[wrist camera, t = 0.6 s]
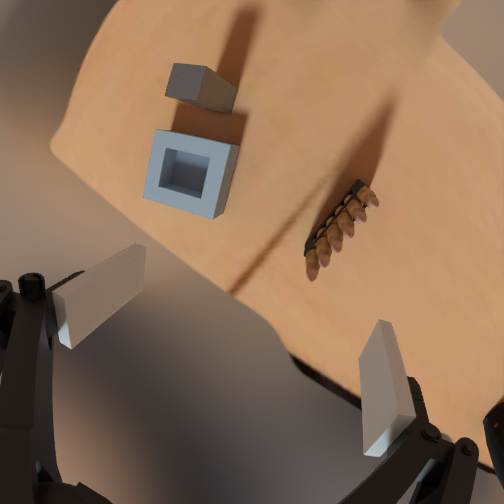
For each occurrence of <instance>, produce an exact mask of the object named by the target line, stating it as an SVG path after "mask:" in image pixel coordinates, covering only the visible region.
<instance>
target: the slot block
mask: <svg viewBox="0 0 504 504" xmlns="http://www.w3.org/2000/svg"><path fill="white" fill-rule="evenodd" d="M239 148H240V146H238V145H234V144H230V143H226V142H222V141H217V140H213V139H209V138H204V137H199V136H195V135H190V134H185V133H180V132H175V131H169V130H159V129H156V131H155V136H154V140H153V145H152V150H151V155H150V160H149V165H148V170H147V176H146V182H145V188H144V194H143V198H145V199H148V200H152V201H155V202H158V203H161V204H165V205H168V206H171V207H174V208H178V209H181V210H184V211H187V212H191V213H194V214H197V215H200V216H203V217H207V218H210V219H214V218H216V217H218V216H219V215H221V214H223V212H224V208H225V204H226V200H227V196H228V192H229V188H230V184H231V180H232V176H233V172H234V168H235V164H236V160H237V156H238V152H239Z"/></svg>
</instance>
